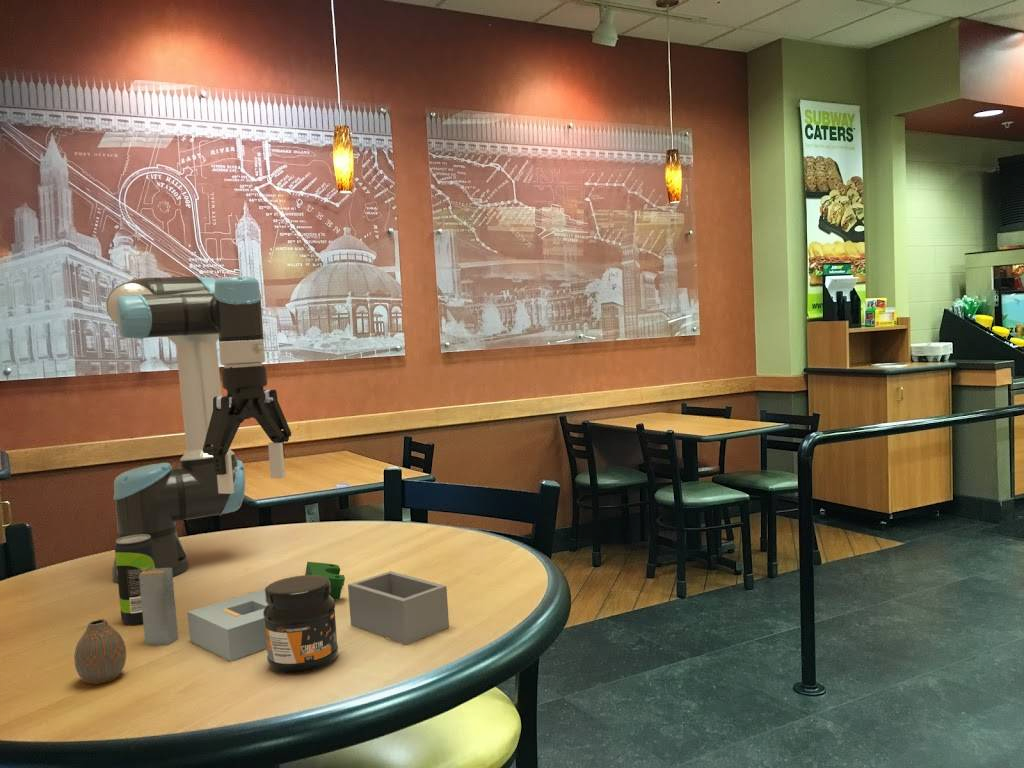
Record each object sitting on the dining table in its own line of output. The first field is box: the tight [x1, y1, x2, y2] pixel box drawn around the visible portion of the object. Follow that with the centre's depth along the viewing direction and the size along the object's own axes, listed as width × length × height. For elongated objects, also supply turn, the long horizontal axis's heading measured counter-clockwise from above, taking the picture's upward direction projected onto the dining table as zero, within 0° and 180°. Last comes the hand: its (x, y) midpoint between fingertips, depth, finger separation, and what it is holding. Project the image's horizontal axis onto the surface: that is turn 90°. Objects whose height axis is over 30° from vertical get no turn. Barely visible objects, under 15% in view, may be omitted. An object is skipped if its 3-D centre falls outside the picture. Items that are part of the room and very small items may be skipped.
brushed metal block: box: [139, 568, 179, 646], centre depth 135 cm, size 4×3×12 cm
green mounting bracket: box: [304, 561, 346, 601], centre depth 154 cm, size 12×6×9 cm, turn 13°
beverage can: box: [114, 534, 155, 626], centre depth 147 cm, size 6×6×15 cm
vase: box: [73, 618, 127, 685], centre depth 121 cm, size 7×7×9 cm
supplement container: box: [263, 574, 339, 675], centre depth 123 cm, size 10×10×12 cm
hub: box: [187, 588, 267, 662], centre depth 135 cm, size 14×14×5 cm
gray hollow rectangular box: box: [347, 570, 450, 646], centre depth 136 cm, size 15×9×7 cm, turn 46°
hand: (253, 485), depth 144 cm, fingers open, 13 cm apart
